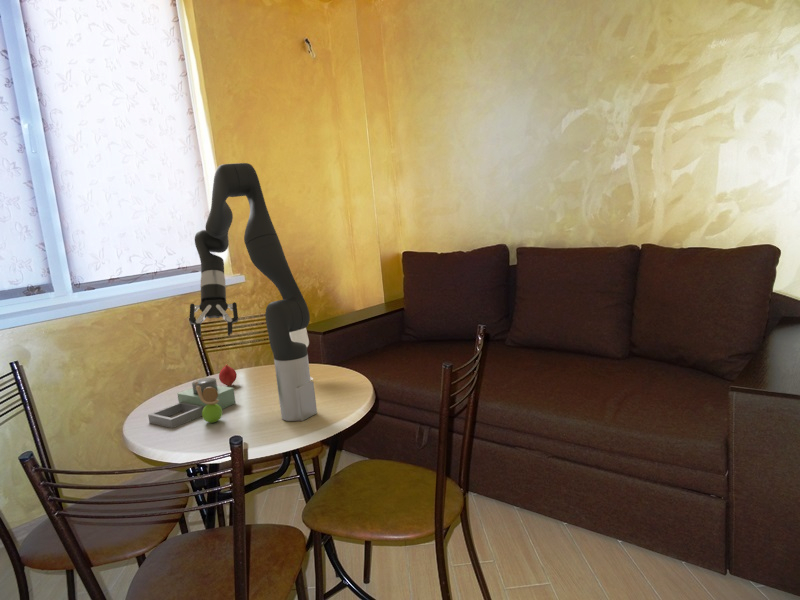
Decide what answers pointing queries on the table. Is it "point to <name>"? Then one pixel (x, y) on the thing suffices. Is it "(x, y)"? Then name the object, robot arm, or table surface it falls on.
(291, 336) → the champagne flute
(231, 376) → the onion
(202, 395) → the snail figurine
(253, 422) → the table surface
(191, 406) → the box with drawer
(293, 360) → the robot arm
